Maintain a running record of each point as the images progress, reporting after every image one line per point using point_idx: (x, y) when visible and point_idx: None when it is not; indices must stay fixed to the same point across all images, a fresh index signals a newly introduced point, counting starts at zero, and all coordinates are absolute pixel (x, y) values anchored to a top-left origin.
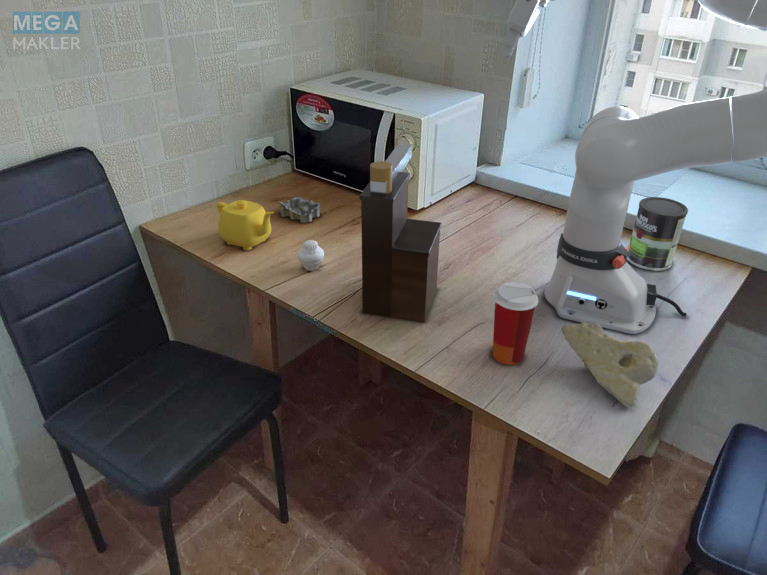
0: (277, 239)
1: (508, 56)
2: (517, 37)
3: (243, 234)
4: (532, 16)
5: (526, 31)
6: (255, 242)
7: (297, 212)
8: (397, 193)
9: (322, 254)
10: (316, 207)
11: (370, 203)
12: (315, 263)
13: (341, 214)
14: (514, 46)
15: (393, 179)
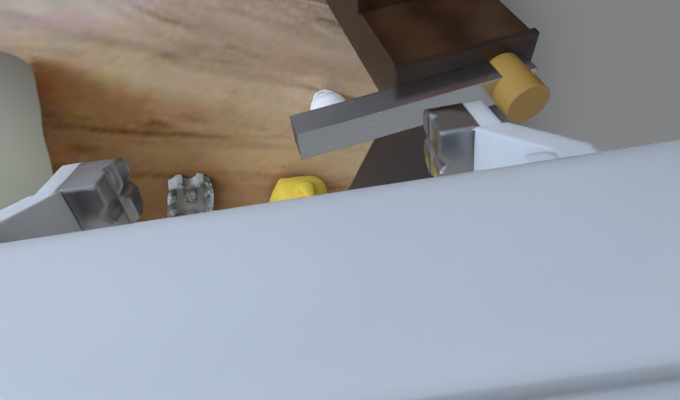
0: (271, 170)
1: (120, 165)
2: (596, 152)
3: (327, 192)
4: (633, 305)
5: (121, 245)
6: (314, 177)
7: (208, 195)
8: (508, 39)
9: (329, 98)
10: (185, 187)
11: None
12: (338, 94)
13: (143, 157)
14: (28, 212)
15: (472, 73)
